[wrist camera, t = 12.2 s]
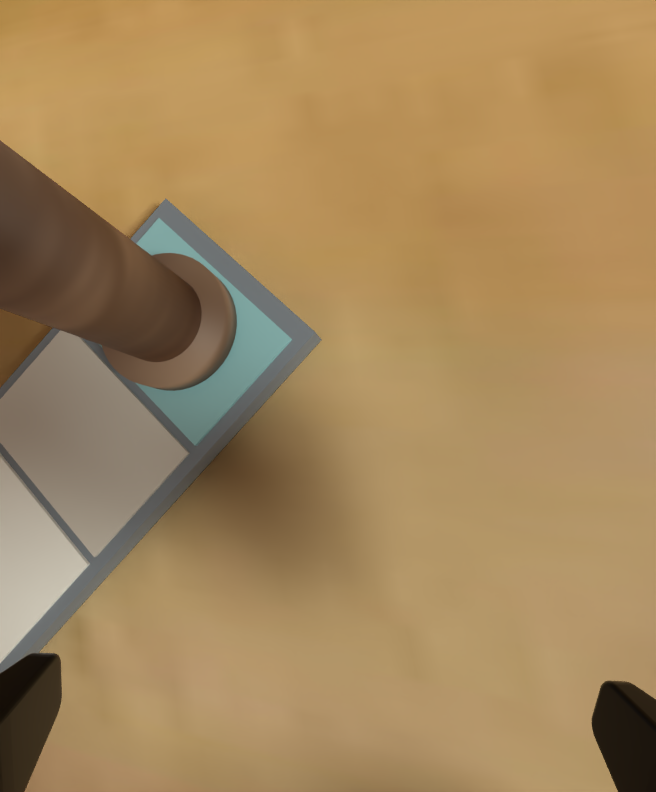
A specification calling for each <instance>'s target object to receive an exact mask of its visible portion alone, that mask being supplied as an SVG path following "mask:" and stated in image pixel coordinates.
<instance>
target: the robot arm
mask: <svg viewBox="0 0 656 792" xmlns="http://www.w3.org/2000/svg"><path fill="white" fill-rule="evenodd" d="M61 698H62V687H61V660H60V657H59V656H58V655H57V654H54V653H31V654H29V655H27V656H25V657H24V658H22V659H21V660H19V661H18V662H16V663H15V664H13V665H12V666H10V667H9V668H7V669H6V670H4V671H3V672H1V673H0V792H24V791H25V789H26V787H27V784H28V782H29V780H30V777H31V775H32V773H33V770H34V768H35V766H36V763H37V761H38V759H39V756H40V754H41V752H42V749H43V747H44V745H45V742H46V740H47V738H48V735H49V733H50V731H51V728H52V726H53V724H54V721H55V719H56V717H57V714H58V711H59V708H60V704H61ZM592 729H593V733H594V736H595V739H596V741H597V744H598V746H599V748H600V751H601V753H602V755H603V758H604V760H605V762H606V765H607V767H608V769H609V772H610V774H611V776H612V779H613V781H614V783H615V786H616V788H617V790H618V792H656V700H655V699H654V698H653V697H651V696H650V695H648V694H647V693H645V692H644V691H642V690H641V689H639V688H638V687H636V686H635V685H633V684H632V683H629V682H625V681H605V682H604V683H603V684H602V685H601V688H600V691H599V695H598V698H597V702H596V705H595V709H594V712H593V716H592Z"/></svg>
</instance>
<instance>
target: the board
mask: <svg viewBox="0 0 656 792" xmlns="http://www.w3.org/2000/svg"><path fill="white" fill-rule="evenodd" d="M131 240H132V241H133V242H134V243H136V244H137V245H138V246H140V247H141V248H142V249H144V250H145V251H146V252H148V253H149V254H150V255H155V254H161V253H176V254H182V255H186V256H188V257H191V258H193V259H195V260H197V261H198V262H200V263H201V264H203V265H204V266H205V267H206V268H207V269H208V270H210V271H211V272H212V273H213V274H214V275H215V276H216V277H217V278H218V279H220V280H221V282H222V283H223V284H224V285H225V286H226V288H227V289H228V291H229V292H230V294H231V296H232V298H233V301H234V304H235V308H236V314H237V329H236V335H235V340H234V343H233V346H232V348H231V350H230V352H229V355H228V356H227V358H226V359H225V361H224V363H223V364H222V365H221V366H220V368H219V369H218V370H217V371H216V372H215V373H214V374H213V375H212V376H210V377H209V378H208V379H206V380H205V381H203V382H201V383H200V384H198V385H196V386H193V387H191V388H187V389H183V390H176V391H166V390H160V389H156V388H152V387H149V386H145V385H141V384H138V383H135V382H132V381H130V380H129V379H127V378H125V377H124V376H122V375H121V374H120V373H118V372H117V371H116V370H115V369H114V368H113V366H112V365H111V364H110V362H109V361H108V359H107V357H106V356H105V353H104V351H103V348H102V345H100V344H97V343H95V342H92V341H89V340H86V339H83V338H81V337H78V336H75V335H72V334H70V333H67V332H64V331H61V330H58V329H56V328H52V329H51V331H50V332H49V333H48V334H47V335H46V336H45V337H44V339H43V340H42V341H41V342H40V343H39V344H38V345H37V347H36V348H35V349H34V350H33V351H32V352H31V353H30V355H29V356H28V357H27V358H26V359H25V360H24V361H23V363H22V364H21V365H20V366H19V367H18V368H17V370H16V371H15V372H14V373H13V374H12V375H11V376H10V378H9V379H8V380H7V381H6V382H5V383H4V384H3V386H2V387H1V388H0V673H1V672H3V671H4V670H6V669H7V668H9V667H10V666H12V665H13V664H15V663H16V662H18V661H19V660H21V659H22V658H24V657H25V656H27V655H29V654H31V653H38V652H39V651H40V650H41V649H42V648H43V647H44V646H45V645H46V644H47V643H48V641H49V640H50V639H51V638H52V637H53V636H54V635H55V634H56V633H57V632H58V630H59V629H60V628H61V627H62V626H63V625H64V624H65V623H66V622H67V620H68V619H69V618H70V617H71V616H72V615H73V614H74V613H75V612H76V611H77V609H78V608H79V607H80V606H81V605H82V604H83V603H84V602H85V601H86V599H87V598H88V597H89V596H90V595H91V594H92V593H93V592H94V591H95V590H96V588H97V587H98V586H99V585H100V584H101V583H102V582H103V581H104V580H105V578H106V577H107V576H108V575H109V574H110V573H111V572H112V571H113V570H114V569H115V567H116V566H117V565H118V564H119V563H120V562H121V561H122V560H123V559H124V558H125V556H126V555H127V554H128V553H129V552H130V551H131V550H132V549H133V548H134V546H135V545H136V544H137V543H138V542H139V541H140V540H141V539H142V538H143V537H144V535H145V534H146V533H147V532H148V531H149V530H150V529H151V528H152V527H153V525H154V524H155V523H156V522H157V521H158V520H159V519H160V518H161V517H162V516H163V514H164V513H165V512H166V511H167V510H168V509H169V508H170V507H171V506H172V504H173V503H174V502H175V501H176V500H177V499H178V498H179V497H180V496H181V495H182V493H183V492H184V491H185V490H186V489H187V488H188V487H189V486H190V485H191V484H192V482H193V481H194V480H195V479H196V478H197V477H198V476H199V475H200V474H201V472H202V471H203V470H204V469H205V468H206V467H207V466H208V465H209V464H210V463H211V461H212V460H213V459H214V458H215V457H216V456H217V455H218V454H219V453H220V451H221V450H222V449H223V448H224V447H225V446H226V445H227V444H228V443H229V442H230V440H231V439H232V438H233V437H234V436H235V435H236V434H237V433H238V432H239V430H240V429H241V428H242V427H243V426H244V425H245V424H246V423H247V422H248V421H249V419H250V418H251V417H252V416H253V415H254V414H255V413H256V412H257V411H258V410H259V408H260V407H261V406H262V405H263V404H264V403H265V402H266V401H267V400H268V398H269V397H270V396H271V395H272V394H273V393H274V392H275V391H276V390H277V389H278V387H279V386H280V385H281V384H282V383H283V382H284V381H285V380H286V379H287V377H288V376H289V375H290V374H291V373H292V372H293V371H294V370H295V369H296V368H297V366H298V365H299V364H300V363H301V362H302V361H303V360H304V359H305V358H306V356H307V355H308V354H309V353H310V352H311V351H312V350H313V349H314V348H315V347H316V345H317V344H318V343H319V342H320V341H321V338H320V337H319V336H318V335H317V334H316V333H315V332H314V331H313V330H312V329H311V328H310V327H309V326H308V325H307V324H305V323H304V322H303V321H302V320H301V319H300V318H299V317H298V316H296V315H295V314H294V313H293V312H292V311H291V310H290V309H289V308H288V307H286V306H285V305H284V304H283V303H282V302H281V301H280V300H279V299H277V298H276V297H275V296H274V295H273V294H272V293H271V292H270V291H269V290H267V289H266V288H265V287H264V286H263V285H262V284H261V283H260V282H258V281H257V280H256V279H255V278H254V277H253V276H252V275H251V274H250V273H248V272H247V271H246V270H245V269H244V268H243V267H242V266H241V265H239V264H238V263H237V262H236V261H235V260H234V259H233V258H232V257H231V256H229V255H228V254H227V253H226V252H225V251H224V250H223V249H222V248H220V247H219V246H218V245H217V244H216V243H215V242H214V241H213V240H212V239H210V238H209V237H208V236H207V235H206V234H205V233H204V232H203V231H201V230H200V229H199V228H198V227H197V226H196V225H195V224H194V223H193V222H191V221H190V220H189V219H188V218H187V217H186V216H185V215H184V214H182V213H181V212H180V211H179V210H178V209H177V208H176V207H175V206H174V205H172V204H171V203H170V202H169V201H168V200H167V199H165V200H164V201H163V202H162V203H161V204H160V206H159V207H158V208H157V209H156V210H155V211H154V212H153V214H152V215H151V216H150V217H149V218H148V219H147V220H146V222H145V223H144V224H143V225H142V226H141V227H140V228H139V230H138V231H137V232H136V233H135V234H134V235H133V237H132V238H131Z"/></svg>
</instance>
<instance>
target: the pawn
mask: <svg viewBox="0 0 656 792" xmlns="http://www.w3.org/2000/svg"><path fill="white" fill-rule="evenodd" d="M0 309H3V310H6V311H8V312H11V313H14V314H17V315H20V316H22V317H25V318H28V319H31V320H33V321H36V322H39V323H42V324H45V325H47V326H50V327H53V328H56V329H58V330H61V331H64V332H67V333H70V334H72V335H75V336H78V337H81V338H83V339H86V340H89V341H92V342H95V343H97V344H100V345H102V348H103V351H104V353H105V356H106V357H107V359H108V361H109V362H110V364H111V365H112V366H113V368H114V369H115V370H116V371H117V372H118V373H120V374H121V375H122V376H124V377H125V378H127V379H129V380H130V381H132V382H135V383H138V384H141V385H145V386H149V387H152V388H156V389H160V390H166V391H176V390H183V389H187V388H191V387H193V386H196V385H198V384H200V383H201V382H203V381H205V380H206V379H208V378H209V377H210V376H212V375H213V374H214V373H215V372H216V371H217V370H218V369H219V368H220V366H221V365H222V364H223V363H224V361H225V359H226V358H227V356H228V355H229V352H230V350H231V348H232V346H233V343H234V340H235V335H236V329H237V314H236V308H235V304H234V301H233V298H232V296H231V294H230V292H229V291H228V289H227V288H226V286H225V285H224V284H223V283H222V282H221V280H220V279H218V278H217V277H216V276H215V275H214V274H213V273H212V272H211V271H210V270H208V269H207V268H206V267H205V266H204V265H203V264H201V263H200V262H198V261H197V260H195V259H193V258H191V257H188V256H186V255H182V254H176V253H161V254H155V255H150V254H149V253H148V252H146V251H145V250H144V249H142V248H141V247H140V246H138V245H137V244H136V243H134V242H133V241H132V240H131V239H129V238H128V237H127V236H125V235H124V234H123V233H121V232H120V231H119V230H117V229H116V228H115V227H113V226H112V225H111V224H109V223H108V222H107V221H105V220H104V219H103V218H102V217H100V216H99V215H98V214H96V213H95V212H94V211H92V210H91V209H90V208H88V207H87V206H86V205H84V204H83V203H82V202H80V201H79V200H78V199H77V198H75V197H74V196H73V195H71V194H70V193H69V192H67V191H66V190H65V189H63V188H62V187H61V186H59V185H58V184H57V183H55V182H54V181H53V180H52V179H50V178H49V177H48V176H46V175H45V174H44V173H42V172H41V171H40V170H38V169H37V168H36V167H34V166H33V165H32V164H30V163H29V162H28V161H27V160H25V159H24V158H23V157H21V156H20V155H19V154H17V153H16V152H15V151H13V150H12V149H11V148H9V147H8V146H7V145H5V144H4V143H3V142H1V141H0Z"/></svg>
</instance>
